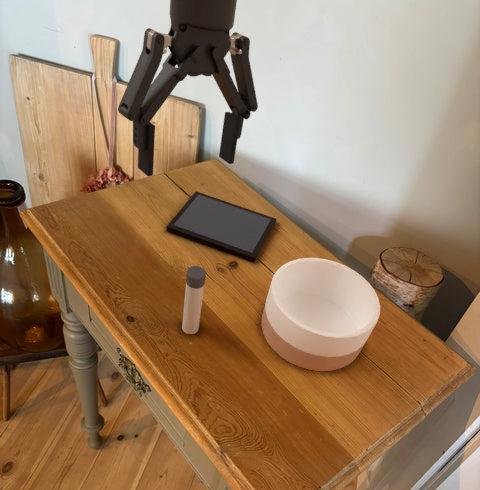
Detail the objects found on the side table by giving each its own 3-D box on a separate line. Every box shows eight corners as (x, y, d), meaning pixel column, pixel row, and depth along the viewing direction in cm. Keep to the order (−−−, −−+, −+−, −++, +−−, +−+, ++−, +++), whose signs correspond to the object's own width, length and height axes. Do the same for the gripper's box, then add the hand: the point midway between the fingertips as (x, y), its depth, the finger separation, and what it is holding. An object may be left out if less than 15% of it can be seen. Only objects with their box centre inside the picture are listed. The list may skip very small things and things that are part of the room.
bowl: (241, 336, 73) (250, 300, 67) (288, 279, 84) (299, 243, 78) (339, 390, 69) (358, 357, 63) (375, 322, 80) (394, 288, 74)
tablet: (166, 231, 88) (166, 226, 87) (195, 196, 97) (196, 190, 96) (254, 263, 86) (255, 257, 85) (275, 223, 95) (277, 218, 94)
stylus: (179, 330, 72) (183, 274, 63) (186, 319, 74) (191, 263, 65) (194, 336, 72) (201, 281, 63) (201, 325, 74) (208, 269, 65)
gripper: (118, -21, 43) (119, 190, 57) (305, -1, 57) (270, 165, 70) (83, -36, 47) (92, 165, 61) (267, -14, 61) (240, 146, 74)
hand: (188, 165), depth 66 cm, fingers open, 13 cm apart
